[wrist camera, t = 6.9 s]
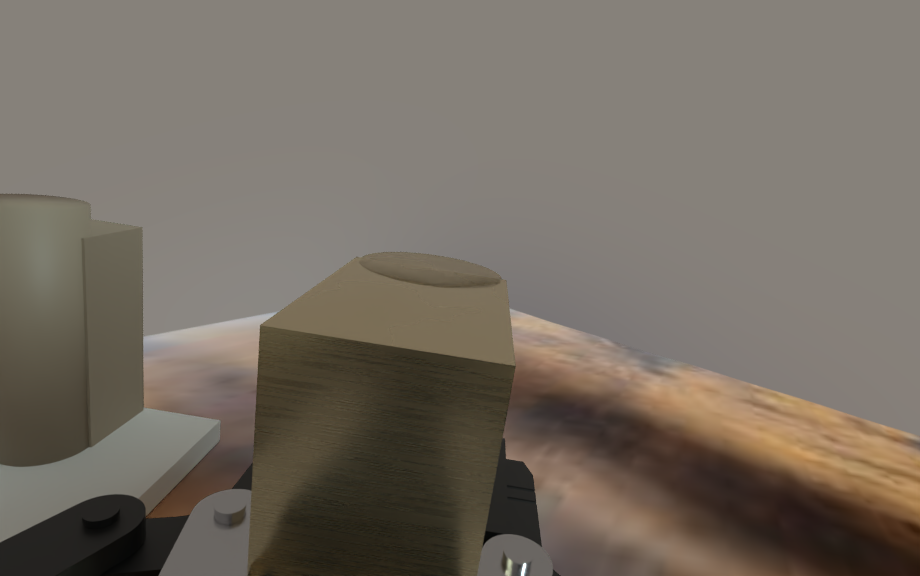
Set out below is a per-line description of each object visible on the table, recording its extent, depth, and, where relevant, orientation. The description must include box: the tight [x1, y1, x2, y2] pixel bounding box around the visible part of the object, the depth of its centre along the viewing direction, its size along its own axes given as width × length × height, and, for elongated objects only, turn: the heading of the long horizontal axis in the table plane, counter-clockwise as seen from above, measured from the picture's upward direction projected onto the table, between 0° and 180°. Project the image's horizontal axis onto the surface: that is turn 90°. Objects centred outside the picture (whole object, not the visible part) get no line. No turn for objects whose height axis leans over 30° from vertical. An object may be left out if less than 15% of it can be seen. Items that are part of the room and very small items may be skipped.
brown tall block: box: [248, 252, 515, 576], centre depth 11 cm, size 7×3×11 cm, turn 176°
